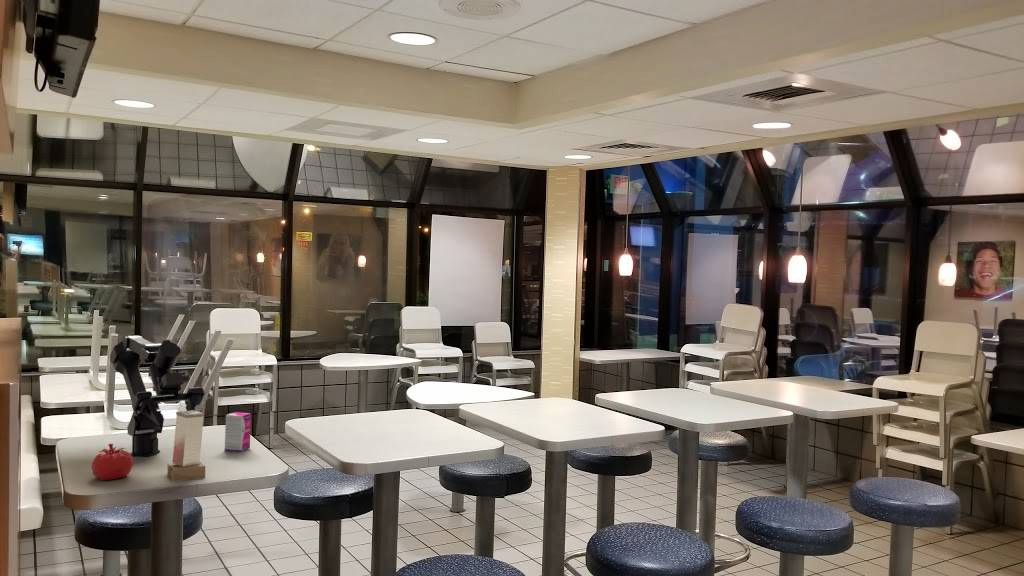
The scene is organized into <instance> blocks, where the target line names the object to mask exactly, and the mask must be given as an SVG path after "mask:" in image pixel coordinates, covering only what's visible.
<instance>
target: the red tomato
mask: <svg viewBox="0 0 1024 576" xmlns="http://www.w3.org/2000/svg"><path fill="white" fill-rule="evenodd" d="M107 445H108V447H109V449H106V448H103V449H101V450H100V451H99V453H98V454H97V455H96V456H95V457H94V458H93V459H92V460H93V461H92V463H91V470H92V475H93V477H95V478H96V479H97V480H100V479H102V480H101V481H113V480H117V479H121V478H124V477H126V476H128V475H129V474H130V472H131V471H132V469H133V467H134V466H133V465H134V458H133V457H134V456H133V455H131V454H130V453H131V452H128V451H126V448H124V447H120V448H118V447H117V446H114V443H108V444H107ZM116 448H118V449H116Z"/></svg>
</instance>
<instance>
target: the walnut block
mask: <svg viewBox="0 0 1024 576" xmlns="http://www.w3.org/2000/svg"><path fill="white" fill-rule="evenodd" d="M166 470H167V472H166V473H167V474H166V475H167V476H168V477H169V478H170V479H171V480H172V481H174V482H177V481H178V482H179V481H185V480H194V479H195V480H196V479H200V478H206V465H205V464H204V463H202V462H201V461H200V464H198V465H192V466H185V467H182V466H179V465H176V464H174V463H172V462H170V463H169V462H168V463H167V469H166Z"/></svg>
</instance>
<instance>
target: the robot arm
mask: <svg viewBox="0 0 1024 576" xmlns="http://www.w3.org/2000/svg"><path fill="white" fill-rule="evenodd" d="M181 351H182V350H181V347H180V346H178V345H177V344H176V343H174V342H172V341H171V339H163V340H162V342H161V343H160V342H159V343H153V342H152V341H149V340H148V339H145V338H143V336H140V335H126V336H124V337H123V339H122V340H121V341H120V342H119V343H117V344H115V345H114V346H113V347H112V350H111V351H110V355H109V357H110V358H109V360H110V363H111V364H112V366H113V368H114V370H115V371H116V372H118V373H119V374H121V375H122V376H123V379H124V382H125V384H126V385H125V386H126V389H127V392H128V393H129V397H130V401H131V408H132V414H131V417H130V420H129V423H128V425H127V428H126V429H127V435H129V436H131V437H132V438H131V441H132V442H131V452H129V453H130V454H131V456H133V457H134V456H137V457H150V456H152V455H155V454H158V453H160V452H161V450H159V438H158V434H162V431H163V428H164V421H165V418H164V415H163V413H162V410H161V409H160V406H159V403H174V402H175V403H176V402H183V401H184V404H185V405H186V406H185V411H192V410H194V411H196V407H197V406H199V405H201V403H202V400H203V399H204V396H205V393H206V392H205V390H204V387H201V386H197V387H188V389H187V391H186V392H184V393H180V392H179V391H181V390H182V387H181V386H183V384H186V383H188V382H189V381H190V375H189V372H188V370H181V371H180V372H173V371H172V368H174V367H175V365H176V363H177V362H178V359H179V356H180V354H181V353H182V352H181ZM141 362H142V363H143V364H145V365H148V364H150V365H149V367H148V373H147V374H148V377H150V379H151V382H152V385H153V387H152V391H153V392H155V395H153V393H152V391H150V390H149V391H147V388H146V386H145V383H144V380H143V377H142V373H141V371H140V369H139V367H140V364H141Z"/></svg>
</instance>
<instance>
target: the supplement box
mask: <svg viewBox="0 0 1024 576" xmlns="http://www.w3.org/2000/svg"><path fill="white" fill-rule="evenodd" d="M251 426H252V413H251V412H250V413H249V412H237V411H235V412H231V413H228V414H226V415H225V428H224V430H225V431H224V433H225V434H224V435H225V436H224V452H232V451H235V452H234V453H242V452H243V450H244V451H246V450H249V449H250V448H251ZM248 448H249V449H248Z"/></svg>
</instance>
